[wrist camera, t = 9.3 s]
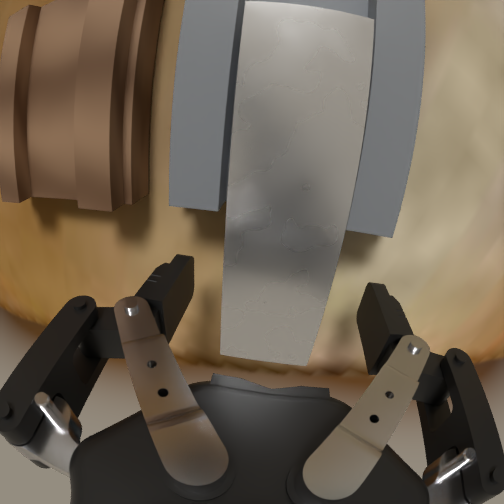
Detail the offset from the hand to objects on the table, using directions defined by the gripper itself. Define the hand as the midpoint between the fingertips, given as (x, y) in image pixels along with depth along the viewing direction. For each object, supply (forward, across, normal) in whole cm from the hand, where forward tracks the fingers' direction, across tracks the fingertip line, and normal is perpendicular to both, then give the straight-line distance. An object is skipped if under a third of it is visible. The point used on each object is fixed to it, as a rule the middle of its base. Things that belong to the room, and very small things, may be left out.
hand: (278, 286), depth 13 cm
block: (+2, 0, -4) cm, 5 cm away
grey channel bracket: (+4, 0, -9) cm, 10 cm away
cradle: (+3, +13, -9) cm, 16 cm away
